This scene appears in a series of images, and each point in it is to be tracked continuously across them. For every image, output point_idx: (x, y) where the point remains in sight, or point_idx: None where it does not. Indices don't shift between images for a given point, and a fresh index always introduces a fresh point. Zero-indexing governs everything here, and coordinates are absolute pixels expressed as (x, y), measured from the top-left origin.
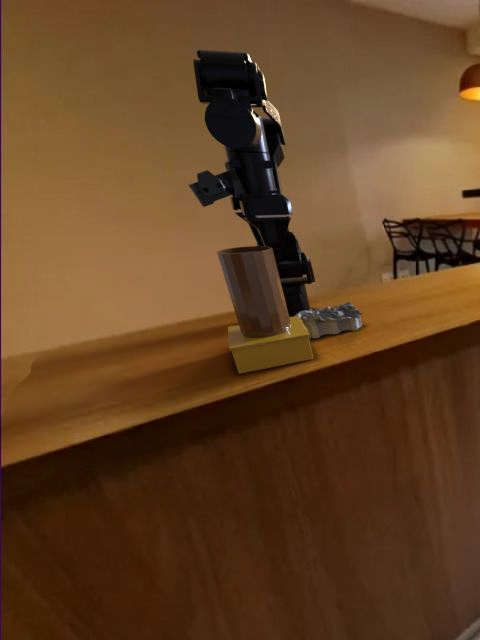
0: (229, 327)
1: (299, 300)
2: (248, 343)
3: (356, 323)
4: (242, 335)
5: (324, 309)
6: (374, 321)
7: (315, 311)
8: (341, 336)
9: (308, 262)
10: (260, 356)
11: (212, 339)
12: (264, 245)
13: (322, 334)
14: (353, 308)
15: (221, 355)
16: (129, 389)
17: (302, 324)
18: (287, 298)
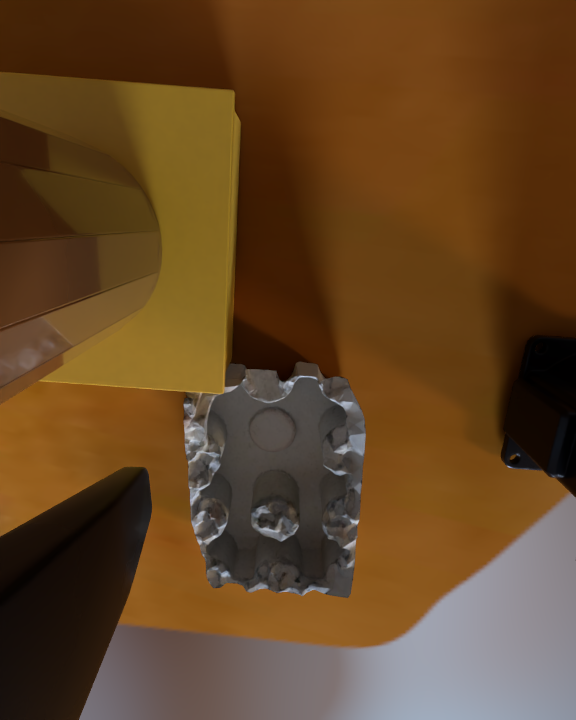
0: (214, 96)
1: (533, 452)
2: None
3: (213, 541)
4: None
5: (358, 500)
6: (274, 591)
7: (359, 466)
8: (177, 467)
9: None
10: None
11: (472, 40)
12: (37, 545)
13: (223, 423)
14: (286, 583)
15: (217, 59)
16: None
17: (75, 379)
18: (554, 414)
